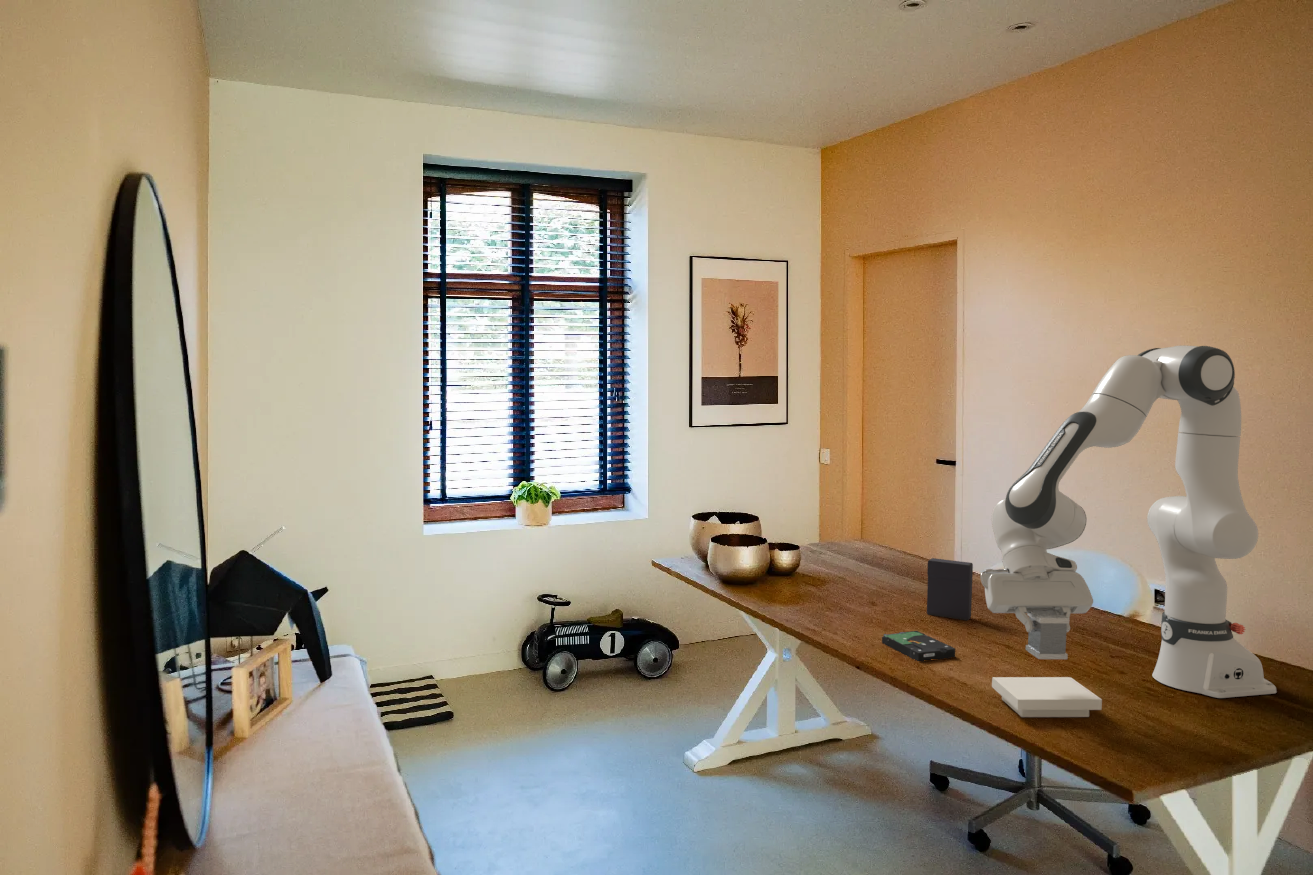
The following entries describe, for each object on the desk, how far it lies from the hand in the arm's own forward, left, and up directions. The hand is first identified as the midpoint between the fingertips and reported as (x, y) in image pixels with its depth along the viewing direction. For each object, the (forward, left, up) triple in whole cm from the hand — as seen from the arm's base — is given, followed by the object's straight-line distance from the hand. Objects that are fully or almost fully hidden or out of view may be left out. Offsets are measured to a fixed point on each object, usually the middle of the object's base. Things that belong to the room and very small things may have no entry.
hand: (1048, 630), depth 170 cm
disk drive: (+13, -36, -16) cm, 42 cm away
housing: (0, -1, -5) cm, 5 cm away
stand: (0, -1, -16) cm, 16 cm away
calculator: (-4, -65, -16) cm, 67 cm away
